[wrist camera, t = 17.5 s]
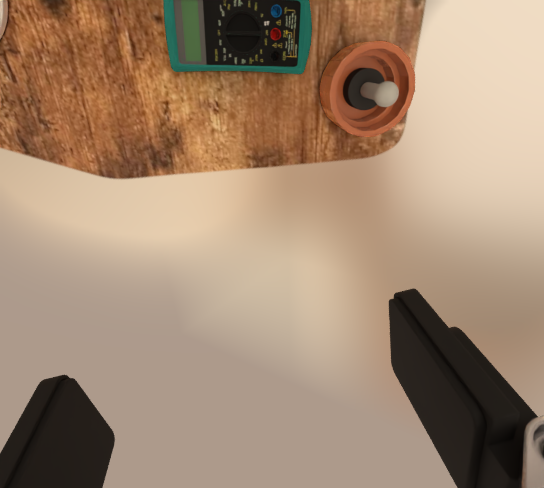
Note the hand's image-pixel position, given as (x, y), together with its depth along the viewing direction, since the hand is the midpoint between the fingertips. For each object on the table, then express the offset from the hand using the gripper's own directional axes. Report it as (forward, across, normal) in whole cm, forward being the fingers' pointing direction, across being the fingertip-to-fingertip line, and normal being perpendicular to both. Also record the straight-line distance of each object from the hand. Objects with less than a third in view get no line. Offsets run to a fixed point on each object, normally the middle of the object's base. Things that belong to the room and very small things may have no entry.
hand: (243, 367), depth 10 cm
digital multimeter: (+36, -4, -10) cm, 38 cm away
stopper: (+36, -17, -1) cm, 39 cm away
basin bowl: (+36, -16, -1) cm, 40 cm away
